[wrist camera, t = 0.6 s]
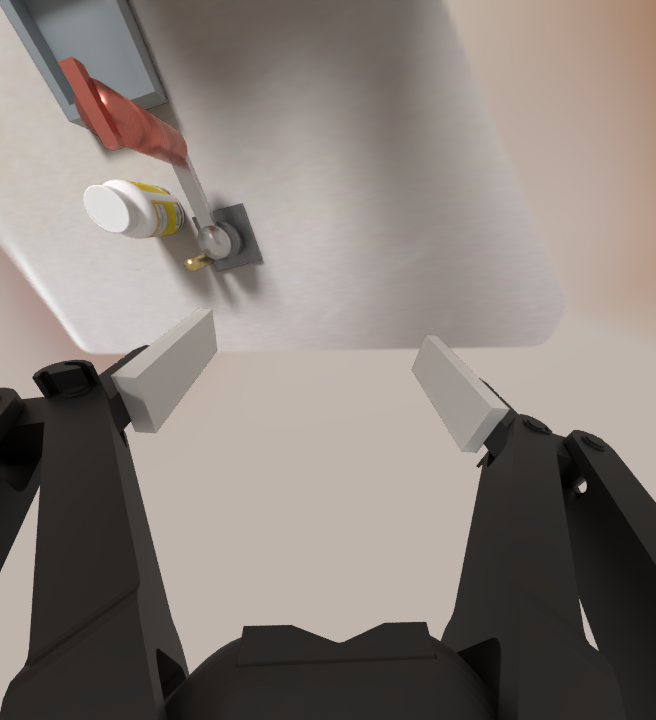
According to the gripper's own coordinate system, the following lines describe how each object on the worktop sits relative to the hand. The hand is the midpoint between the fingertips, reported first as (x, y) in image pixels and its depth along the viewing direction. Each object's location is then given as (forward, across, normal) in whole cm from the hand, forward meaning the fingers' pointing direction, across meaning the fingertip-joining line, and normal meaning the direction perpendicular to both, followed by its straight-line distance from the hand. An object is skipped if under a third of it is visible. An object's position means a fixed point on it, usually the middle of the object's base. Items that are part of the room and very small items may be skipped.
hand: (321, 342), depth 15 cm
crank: (+20, -15, +6) cm, 26 cm away
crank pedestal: (+24, -13, +2) cm, 28 cm away
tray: (+25, -25, +18) cm, 39 cm away
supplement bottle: (+25, -21, +4) cm, 33 cm away
